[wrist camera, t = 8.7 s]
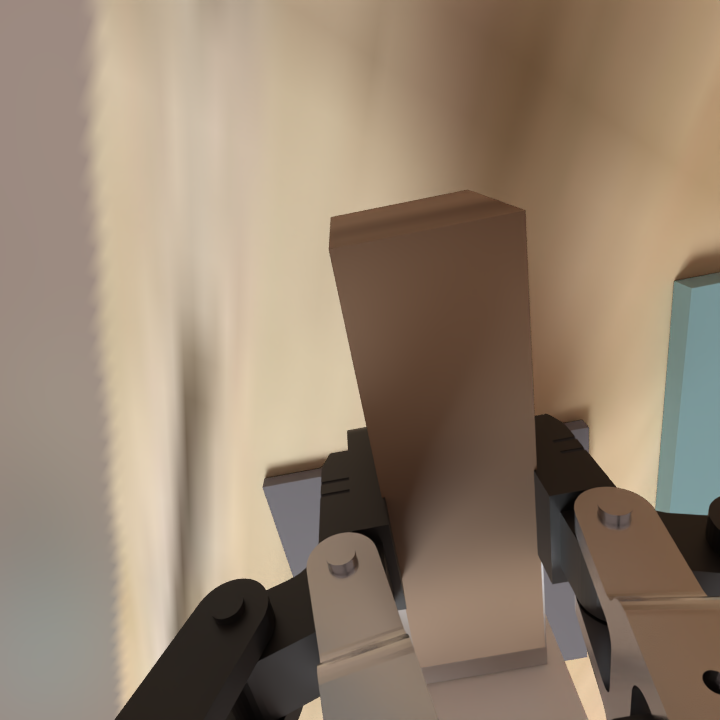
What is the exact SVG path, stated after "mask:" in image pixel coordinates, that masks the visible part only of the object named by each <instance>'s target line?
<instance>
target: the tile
mask: <svg viewBox="0 0 720 720" xmlns="http://www.w3.org/2000/svg"><path fill="white" fill-rule="evenodd" d="M545 619H546V643H547V664H544V665H538V666H532V667H526V668H520V669H514V670H508V671H502V672H496V673H490V674H484V675H478V676H472V677H466V678H460V679H454V680H448V681H442V682H436V683H430V684H427V687H428V690H429V693H430V696H431V699H432V702H433V705H434V707H435V710H436V713H437V716H438V719H439V720H588V718H587V715H586V713H585V710H584V708H583V706H582V703H581V701H580V698H579V696H578V693H577V691H576V688H575V686H574V683H573V681H572V678H571V676H570V673H569V671H568V669H567V666H566V664H565V661H564V659H563V656H562V654H561V651H560V649H559V646H558V644H557V641H556V639H555V637H554V634H553V632H552V629H551V627H550V624H549V622H548V619H547V617H546V614H545Z"/></svg>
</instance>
